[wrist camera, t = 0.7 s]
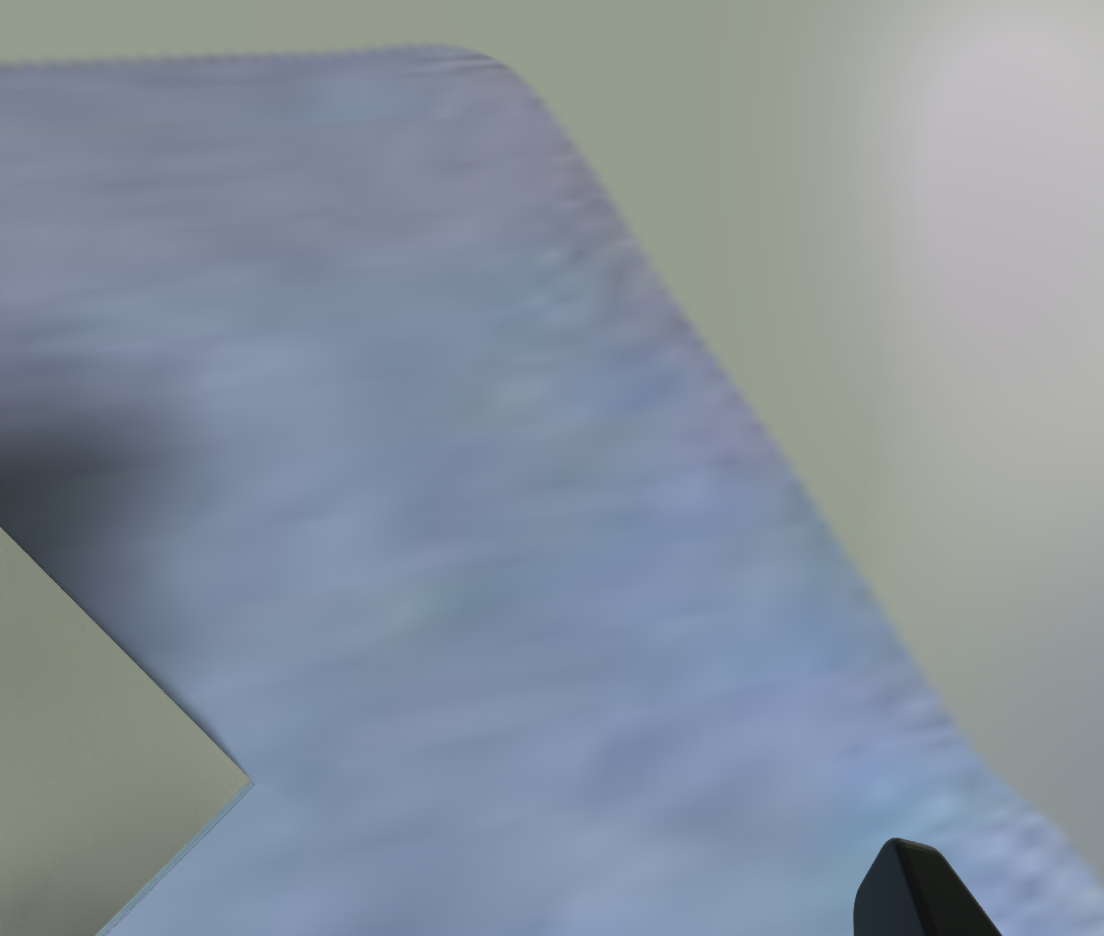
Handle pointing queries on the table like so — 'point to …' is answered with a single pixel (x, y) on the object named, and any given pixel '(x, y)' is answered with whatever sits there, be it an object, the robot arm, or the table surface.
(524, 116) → the table surface
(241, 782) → the aluminium plate
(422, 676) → the table surface
